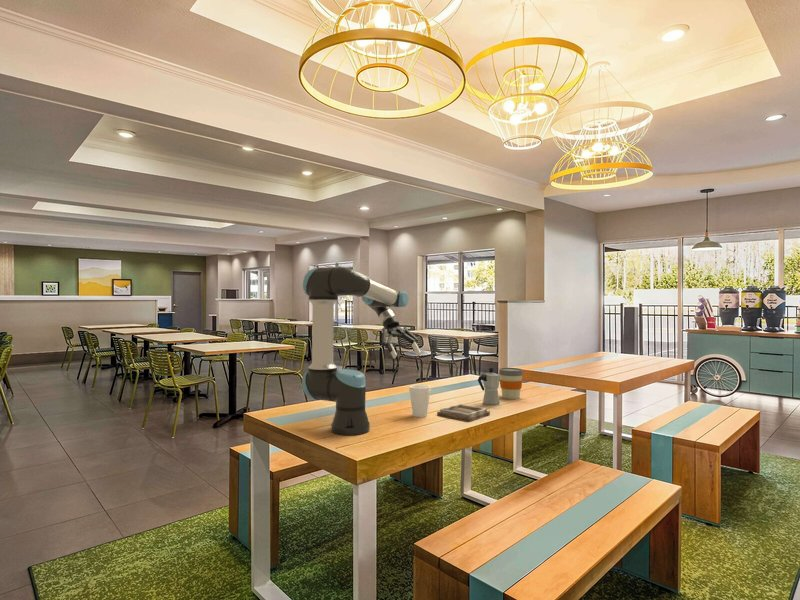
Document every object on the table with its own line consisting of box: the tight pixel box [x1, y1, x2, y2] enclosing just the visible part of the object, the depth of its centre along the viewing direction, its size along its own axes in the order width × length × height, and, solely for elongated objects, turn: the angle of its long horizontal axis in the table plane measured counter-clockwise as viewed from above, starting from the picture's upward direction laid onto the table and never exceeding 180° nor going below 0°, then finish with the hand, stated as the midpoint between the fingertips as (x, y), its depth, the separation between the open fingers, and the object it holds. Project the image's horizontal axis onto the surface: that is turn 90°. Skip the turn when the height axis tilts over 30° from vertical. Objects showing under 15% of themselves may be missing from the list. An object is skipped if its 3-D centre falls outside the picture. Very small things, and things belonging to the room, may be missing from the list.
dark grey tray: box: [436, 403, 491, 423], centre depth 206 cm, size 17×17×3 cm
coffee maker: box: [477, 367, 500, 406], centre depth 230 cm, size 15×9×18 cm, turn 121°
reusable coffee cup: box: [498, 367, 524, 400], centre depth 246 cm, size 13×13×15 cm
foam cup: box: [408, 384, 431, 418], centre depth 205 cm, size 10×9×13 cm
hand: (407, 355), depth 212 cm, fingers open, 13 cm apart
